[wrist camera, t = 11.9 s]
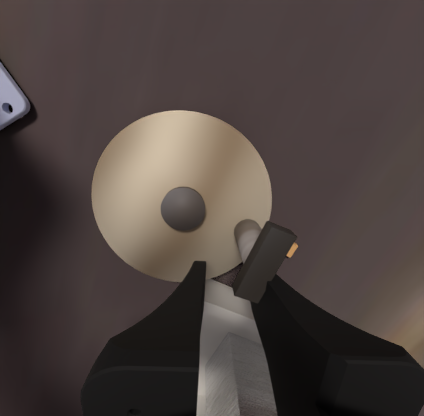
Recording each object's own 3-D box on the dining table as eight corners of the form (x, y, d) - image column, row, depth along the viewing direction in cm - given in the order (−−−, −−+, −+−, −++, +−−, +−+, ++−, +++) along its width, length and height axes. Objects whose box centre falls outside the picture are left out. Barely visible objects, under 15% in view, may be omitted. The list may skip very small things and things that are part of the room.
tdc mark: (252, 238, 15) (253, 240, 15) (259, 225, 15) (261, 228, 14) (288, 254, 15) (290, 257, 15) (295, 243, 15) (298, 246, 15)
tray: (144, 378, 19) (135, 413, 16) (204, 276, 16) (204, 300, 13) (257, 412, 21) (264, 448, 18) (329, 327, 18) (349, 356, 15)
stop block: (205, 365, 18) (206, 500, 11) (228, 331, 17) (245, 459, 10) (246, 379, 19) (271, 514, 12) (271, 347, 18) (313, 476, 11)
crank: (86, 239, 14) (24, 295, 9) (130, 81, 11) (76, 37, 6) (225, 286, 16) (236, 354, 11) (293, 156, 13) (349, 168, 8)
